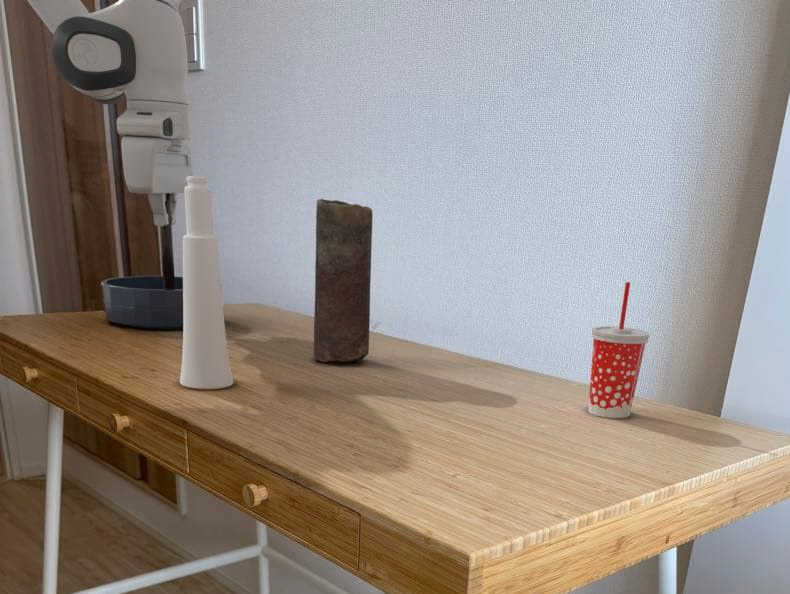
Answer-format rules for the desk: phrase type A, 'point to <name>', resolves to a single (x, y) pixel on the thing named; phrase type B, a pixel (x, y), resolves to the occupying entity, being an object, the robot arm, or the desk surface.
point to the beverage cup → (615, 366)
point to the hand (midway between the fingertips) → (165, 225)
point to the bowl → (143, 302)
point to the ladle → (167, 250)
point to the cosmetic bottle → (202, 296)
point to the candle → (342, 281)
